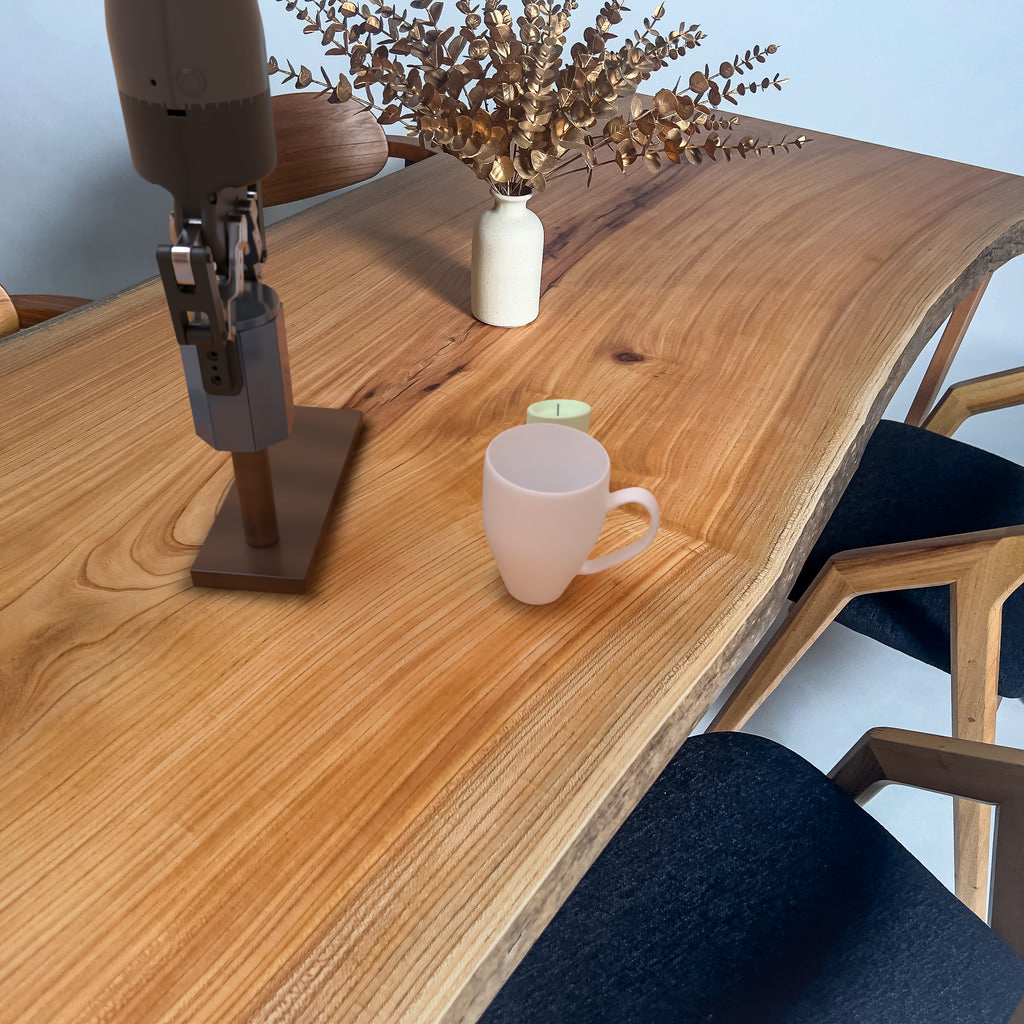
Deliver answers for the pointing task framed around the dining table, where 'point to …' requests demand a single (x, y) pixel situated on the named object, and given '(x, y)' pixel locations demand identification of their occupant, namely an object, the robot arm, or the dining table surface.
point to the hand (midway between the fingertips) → (236, 364)
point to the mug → (551, 508)
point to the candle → (561, 413)
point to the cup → (247, 379)
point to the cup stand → (280, 506)
